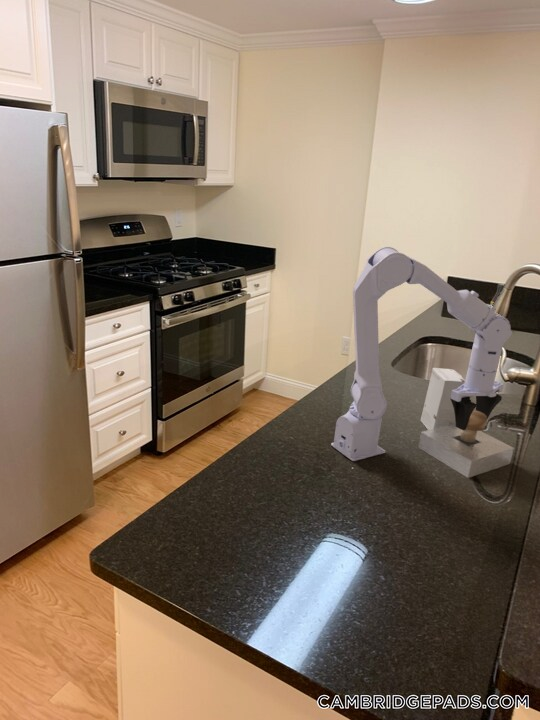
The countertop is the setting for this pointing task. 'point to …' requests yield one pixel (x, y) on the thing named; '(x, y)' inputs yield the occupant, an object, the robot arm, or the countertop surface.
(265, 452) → the countertop surface
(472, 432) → the pin
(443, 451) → the block
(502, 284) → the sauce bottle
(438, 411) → the skincare box
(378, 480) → the countertop surface
